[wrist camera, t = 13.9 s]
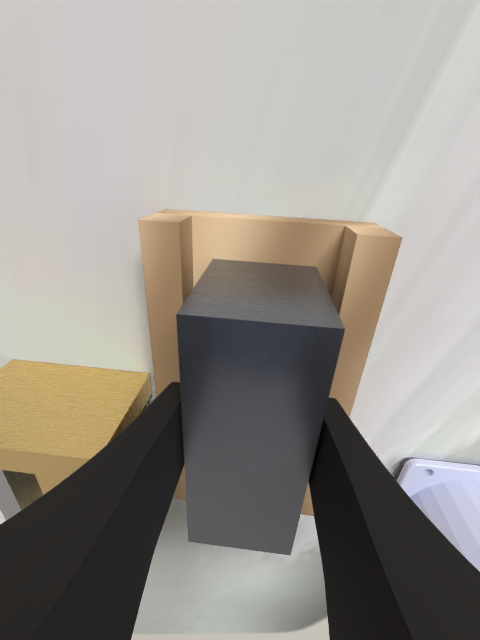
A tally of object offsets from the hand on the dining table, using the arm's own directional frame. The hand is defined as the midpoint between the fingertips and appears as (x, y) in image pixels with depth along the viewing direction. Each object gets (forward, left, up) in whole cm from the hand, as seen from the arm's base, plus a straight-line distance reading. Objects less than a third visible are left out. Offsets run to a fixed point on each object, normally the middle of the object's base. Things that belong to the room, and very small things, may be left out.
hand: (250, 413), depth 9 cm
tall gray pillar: (0, 0, -3) cm, 3 cm away
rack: (0, +1, -4) cm, 4 cm away
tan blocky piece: (+9, +7, -4) cm, 12 cm away
